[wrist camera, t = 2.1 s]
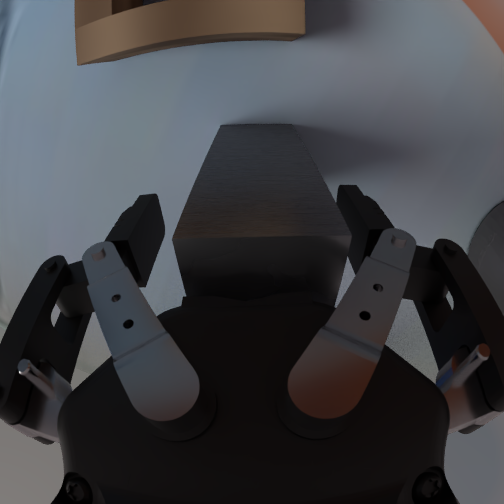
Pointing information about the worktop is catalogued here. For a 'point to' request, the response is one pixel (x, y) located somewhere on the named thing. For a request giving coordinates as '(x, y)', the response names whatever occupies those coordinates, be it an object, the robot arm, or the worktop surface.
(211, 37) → the wooden square frame
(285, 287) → the peg
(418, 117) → the worktop surface
